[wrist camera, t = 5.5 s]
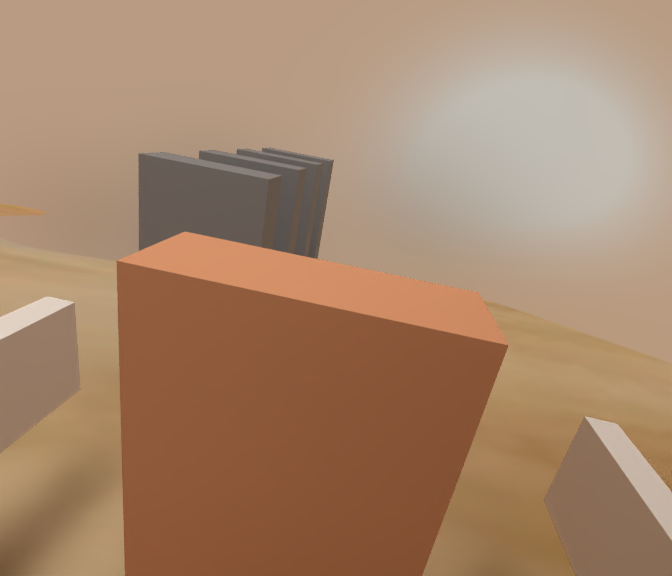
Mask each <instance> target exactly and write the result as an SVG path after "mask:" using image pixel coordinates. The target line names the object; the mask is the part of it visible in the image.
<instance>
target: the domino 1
mask: <svg viewBox="0 0 672 576" xmlns="http://www.w3.org/2000/svg"><path fill="white" fill-rule="evenodd" d="M281 178H282V175H277V174H272V173H267V172H262V171H257V170H252V169H247V168H242V167H236V166H231V165H226V164H221V163H216V162H211V161H206V160H201V159H195V158H191V157H186V156H180V155H176V154H170V153H163V152H160V153H139V251H140V250H143V249H145V248H147V247H150V246H152V245H154V244H157V243H159V242H161V241H164V240H166V239H168V238H171V237H173V236H175V235H178V234H180V233H182V232H190V233H195V234H200V235H204V236H209V237H214V238H219V239H224V240H228V241H233V242H238V243H243V244H247V245H252V246H257V247H262V248H267V249H271V250H273V244H274V236H275V228H276V219H277V211H278V203H279V195H280V187H281Z"/></svg>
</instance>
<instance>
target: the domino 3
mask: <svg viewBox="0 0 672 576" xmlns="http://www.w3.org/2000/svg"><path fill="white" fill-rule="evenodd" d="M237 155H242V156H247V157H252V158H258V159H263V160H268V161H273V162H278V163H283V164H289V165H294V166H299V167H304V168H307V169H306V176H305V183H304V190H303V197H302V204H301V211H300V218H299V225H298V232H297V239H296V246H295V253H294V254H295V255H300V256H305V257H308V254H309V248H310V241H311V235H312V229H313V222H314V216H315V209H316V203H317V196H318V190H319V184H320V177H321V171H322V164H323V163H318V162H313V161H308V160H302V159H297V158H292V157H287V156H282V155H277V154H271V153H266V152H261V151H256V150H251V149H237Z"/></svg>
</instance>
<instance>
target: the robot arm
mask: <svg viewBox="0 0 672 576" xmlns="http://www.w3.org/2000/svg"><path fill="white" fill-rule="evenodd" d="M79 390H80V375H79V361H78V346H77V331H76V317H75V302H71V301H66V300H62V299H57V298H53V297H48V296H47V297H44V298H42V299H40V300H38V301H35V302H33V303H31V304H29V305H26V306H24V307H22V308H20V309H17V310H15V311H13V312H11V313H9V314H6V315H4V316H2V317H0V453H1V452H2V451H4V450H5V449H6V448H7V447H9V446H10V445H11V444H13V443H14V442H15V441H16V440H18V439H19V438H20V437H21V436H23V435H24V434H25V433H26V432H28V431H29V430H30V429H31V428H33V427H34V426H35V425H37V424H38V423H39V422H40V421H42V420H43V419H44V418H45V417H47V416H48V415H49V414H50V413H52V412H53V411H54V410H55V409H57V408H58V407H59V406H61V405H62V404H63V403H64V402H66V401H67V400H68V399H69V398H71V397H72V396H73V395H74V394H76V393H77V392H78V391H79ZM544 502H545V504H546V506H547V509H548V511H549V513H550V516H551V518H552V521H553V523H554V525H555V528H556V530H557V532H558V535H559V537H560V539H561V542H562V544H563V547H564V549H565V551H566V554H567V556H568V558H569V561H570V563H571V566H572V568H573V570H574V573H575V575H576V576H672V492H671V491H670V489H669V488H668V487H667V486H666V484H665V483H664V482H663V481H662V479H661V478H660V477H659V476H658V474H657V473H656V472H655V470H654V469H653V468H652V467H651V465H650V464H649V463H648V462H647V460H646V459H645V458H644V457H643V455H642V454H641V453H640V452H639V450H638V449H637V448H636V447H635V445H634V444H633V443H632V442H631V440H630V439H629V438H628V437H627V435H626V434H625V433H624V432H623V430H622V429H621V428H620V427H619V425H618V424H616V423H612V422H607V421H603V420H598V419H594V418H589V417H584V419H583V421H582V423H581V425H580V427H579V429H578V431H577V433H576V435H575V437H574V439H573V441H572V443H571V445H570V447H569V450H568V452H567V454H566V456H565V458H564V460H563V462H562V464H561V466H560V468H559V470H558V472H557V474H556V476H555V478H554V480H553V482H552V484H551V486H550V488H549V490H548V492H547V494H546V496H545V499H544Z"/></svg>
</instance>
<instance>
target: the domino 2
mask: <svg viewBox="0 0 672 576" xmlns="http://www.w3.org/2000/svg"><path fill="white" fill-rule="evenodd" d="M199 159H201V160H206V161H211V162H216V163H221V164H226V165H231V166H236V167H242V168H247V169H252V170H257V171H262V172H267V173H272V174H277V175H282V178H281V187H280V195H279V203H278V211H277V219H276V228H275V236H274V244H273V250H276V251H281V252H286V253H291V254H294V253H295V246H296V239H297V232H298V225H299V218H300V211H301V204H302V197H303V190H304V183H305V176H306V169H307V168H304V167H299V166H294V165H289V164H283V163H278V162H273V161H268V160H263V159H258V158H252V157H247V156H242V155H237V154H232V153H227V152H221V151H216V150H209V151H199Z"/></svg>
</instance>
